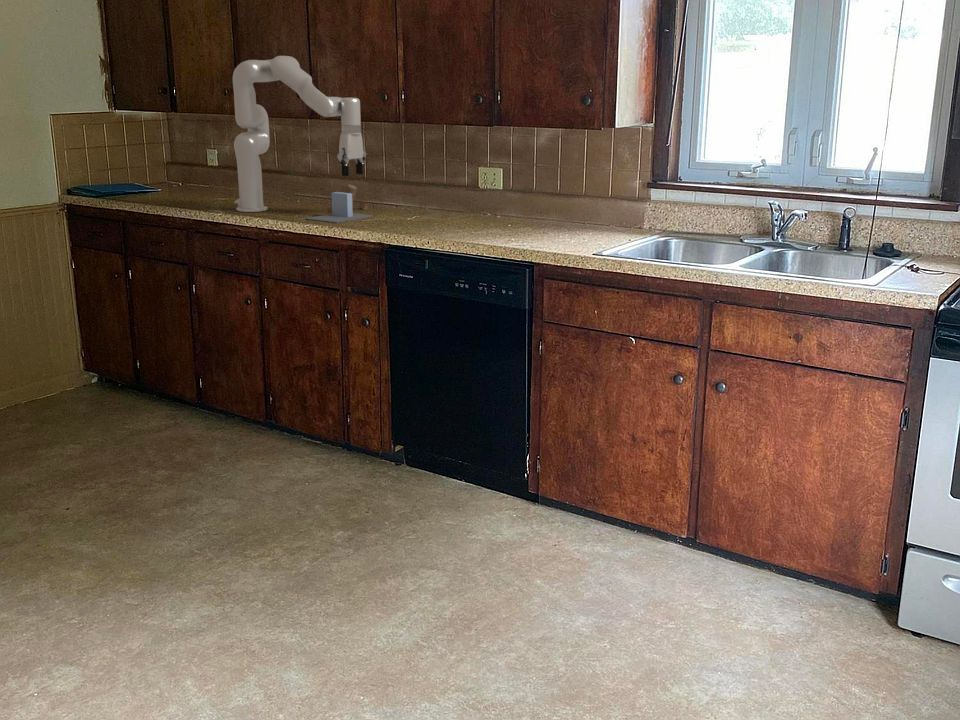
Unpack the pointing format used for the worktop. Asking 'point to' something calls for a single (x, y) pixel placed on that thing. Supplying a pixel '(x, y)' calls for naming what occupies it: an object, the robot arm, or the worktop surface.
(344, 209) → the slab
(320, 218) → the mat
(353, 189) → the wooden block set
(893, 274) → the worktop surface
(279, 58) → the robot arm
